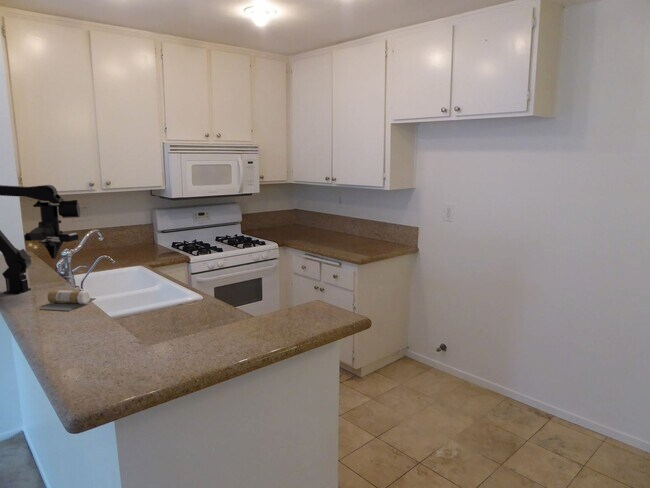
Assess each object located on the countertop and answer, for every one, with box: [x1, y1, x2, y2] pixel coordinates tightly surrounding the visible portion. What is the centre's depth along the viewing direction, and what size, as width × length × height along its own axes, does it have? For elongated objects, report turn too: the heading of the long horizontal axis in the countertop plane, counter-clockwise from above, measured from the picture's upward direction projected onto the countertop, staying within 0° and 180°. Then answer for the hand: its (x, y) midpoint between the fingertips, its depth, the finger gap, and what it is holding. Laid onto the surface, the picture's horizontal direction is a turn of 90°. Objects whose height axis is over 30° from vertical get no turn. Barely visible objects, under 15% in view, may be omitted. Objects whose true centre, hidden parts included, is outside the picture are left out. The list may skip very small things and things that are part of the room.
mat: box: [39, 297, 97, 312], centre depth 162 cm, size 11×14×1 cm
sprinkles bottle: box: [46, 289, 91, 305], centre depth 162 cm, size 5×5×13 cm
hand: (53, 258), depth 179 cm, fingers closed
